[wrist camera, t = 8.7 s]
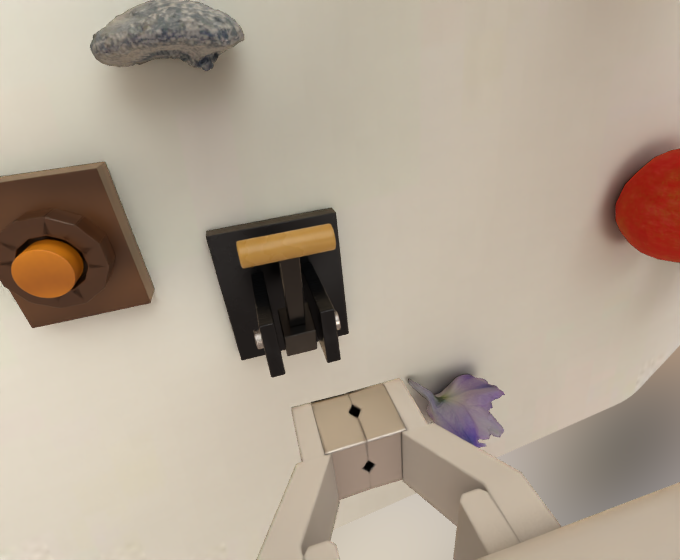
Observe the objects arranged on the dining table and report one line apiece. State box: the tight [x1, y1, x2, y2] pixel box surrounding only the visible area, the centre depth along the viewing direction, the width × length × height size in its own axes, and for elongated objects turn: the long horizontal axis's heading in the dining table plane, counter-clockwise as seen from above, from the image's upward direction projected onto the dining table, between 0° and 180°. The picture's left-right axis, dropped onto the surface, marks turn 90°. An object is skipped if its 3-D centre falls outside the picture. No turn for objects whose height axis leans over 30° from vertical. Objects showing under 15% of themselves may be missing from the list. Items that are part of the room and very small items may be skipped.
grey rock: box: [90, 0, 244, 71], centre depth 22 cm, size 8×4×5 cm, turn 97°
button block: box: [0, 162, 154, 328], centre depth 26 cm, size 10×8×4 cm
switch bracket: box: [206, 208, 349, 377], centre depth 30 cm, size 12×10×9 cm
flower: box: [408, 374, 505, 448], centre depth 42 cm, size 9×9×10 cm
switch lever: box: [236, 224, 336, 356], centre depth 24 cm, size 11×5×2 cm, turn 6°
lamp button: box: [11, 239, 84, 298], centre depth 24 cm, size 3×3×2 cm
